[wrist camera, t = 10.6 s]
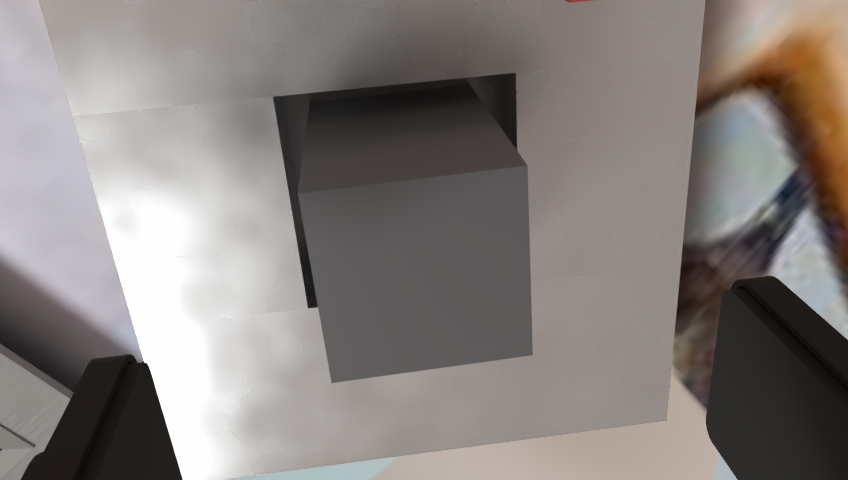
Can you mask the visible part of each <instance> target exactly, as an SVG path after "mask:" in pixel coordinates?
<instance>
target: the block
mask: <svg viewBox="0 0 848 480" xmlns="http://www.w3.org/2000/svg"><path fill="white" fill-rule="evenodd" d="M298 197H299V203H300V209H301V214H302V220H303V225H304V231H305V237H306V242H307V248H308V254H309V259H310V265H311V270H312V276H313V282H314V287H315V293H316V299H317V304H318V310H319V315H320V321H321V327H322V332H323V338H324V344H325V349H326V355H327V361H328V366H329V372H330V377H331V383H336V382H343V381H351V380H358V379H365V378H372V377H380V376H387V375H394V374H401V373H408V372H416V371H423V370H430V369H437V368H445V367H452V366H459V365H466V364H473V363H481V362H488V361H495V360H502V359H510V358H517V357H524V356H531V355H533V344H532V308H531V271H530V234H529V197H528V165H527V164H526V163H525V161H524V160H523V158H522V157H521V155H520V154H519V153H518V151H517V150H516V148H515V147H514V146H513V144H512V143H511V141H510V140H509V139H508V137H507V136H506V134H505V133H504V132H503V130H502V129H501V127H500V126H499V125H498V123H497V122H496V120H495V119H494V118H493V116H492V115H491V113H490V112H489V111H488V109H487V108H486V106H485V105H484V104H483V102H482V101H481V99H480V98H479V97H478V95H477V94H476V92H475V91H474V90H473V88H472V87H471V85H470V84H469V85H460V86H451V87H443V88H434V89H425V90H417V91H408V92H399V93H391V94H382V95H373V96H365V97H356V98H347V99H338V100H330V101H321V102H312V103H310V105H309V113H308V121H307V128H306V136H305V143H304V151H303V158H302V166H301V174H300V181H299V189H298Z"/></svg>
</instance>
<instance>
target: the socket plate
mask: <svg viewBox="0 0 848 480" xmlns="http://www.w3.org/2000/svg"><path fill="white" fill-rule="evenodd" d="M705 1H706V0H39V2H40V6H41V9H42V13H43V16H44V20H45V23H46V26H47V30H48V33H49V37H50V40H51V44H52V47H53V50H54V54H55V57H56V61H57V64H58V68H59V71H60V74H61V78H62V81H63V85H64V88H65V92H66V95H67V98H68V102H69V105H70V109H71V112H72V116H73V119H74V122H75V126H76V129H77V133H78V136H79V140H80V143H81V146H82V150H83V153H84V157H85V160H86V164H87V167H88V170H89V174H90V177H91V181H92V184H93V187H94V191H95V194H96V198H97V201H98V205H99V208H100V211H101V215H102V218H103V222H104V225H105V229H106V232H107V235H108V239H109V242H110V246H111V249H112V253H113V256H114V259H115V263H116V266H117V270H118V273H119V277H120V280H121V283H122V287H123V290H124V294H125V297H126V301H127V304H128V307H129V311H130V314H131V318H132V321H133V325H134V328H135V331H136V335H137V338H138V342H139V345H140V349H141V352H142V355H143V359H144V362H146V363H147V364H148V365H149V368H150V370H151V373H152V377H153V380H154V384H155V387H156V390H157V394H158V397H159V401H160V404H161V407H162V411H163V414H164V418H165V421H166V424H167V428H168V431H169V435H170V438H171V441H172V445H173V448H174V452H175V455H176V458H177V462H178V465H179V468H180V472H181V475H182V479H183V480H223V479H230V478H238V477H245V476H253V475H261V474H268V473H276V472H283V471H291V470H298V469H306V468H313V467H321V466H328V465H336V464H343V463H351V462H358V461H366V460H373V459H381V458H388V457H396V456H404V455H411V454H419V453H425V452H434V451H441V450H448V449H455V448H464V447H471V446H478V445H486V444H494V443H501V442H509V441H516V440H524V439H531V438H538V437H546V436H554V435H562V434H569V433H577V432H584V431H592V430H599V429H606V428H614V427H622V426H628V425H636V424H644V423H652V422H659V421H666V420H667V409H668V398H669V388H670V377H671V366H672V356H673V345H674V334H675V323H676V313H677V302H678V291H679V280H680V270H681V259H682V248H683V237H684V227H685V216H686V205H687V194H688V184H689V173H690V162H691V151H692V141H693V130H694V119H695V108H696V98H697V87H698V76H699V65H700V55H701V44H702V33H703V22H704V12H705ZM469 84H470V85H471V87H472V88H473V90H474V91H475V92H476V94H477V95H478V97H479V98H480V99H481V101H482V102H483V104H484V105H485V106H486V108H487V109H488V111H489V112H490V113H491V115H492V116H493V118H494V119H495V120H496V122H497V123H498V125H499V126H500V127H501V129H502V130H503V132H504V133H505V134H506V136H507V137H508V139H509V140H510V141H511V143H512V144H513V146H514V147H515V148H516V150H517V151H518V153H519V154H520V155H521V157H522V158H523V160H524V161H525V163H526V164H527V165H528V197H529V234H530V271H531V308H532V344H533V355H531V356H524V357H517V358H510V359H502V360H495V361H488V362H481V363H473V364H466V365H459V366H452V367H445V368H437V369H430V370H423V371H416V372H408V373H401V374H394V375H387V376H380V377H372V378H365V379H358V380H351V381H343V382H336V383H331V377H330V372H329V366H328V361H327V355H326V349H325V344H324V338H323V332H322V327H321V321H320V315H319V310H318V304H317V299H316V293H315V287H314V282H313V276H312V270H311V265H310V259H309V254H308V248H307V242H306V237H305V231H304V225H303V220H302V214H301V209H300V203H299V197H298V189H299V181H300V174H301V166H302V158H303V151H304V143H305V136H306V128H307V121H308V113H309V105H310V103H312V102H321V101H330V100H338V99H347V98H356V97H365V96H373V95H382V94H391V93H399V92H408V91H417V90H425V89H434V88H443V87H451V86H460V85H469Z"/></svg>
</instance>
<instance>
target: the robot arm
mask: <svg viewBox="0 0 848 480" xmlns="http://www.w3.org/2000/svg"><path fill="white" fill-rule="evenodd" d="M706 426H707V431H708V434H709V437H710V439H711V441H712V443H713V444H714V446H715V447H716V449H717V450H718V452H719V453H720V455H721V456H722V457H723V459H724V460H725V462H726V463H727V465H728V466H729V468H730V469H731V471H732V472H733V473H734V475H735V476H736V478H737V479H738V480H848V340H847V339H846V338H845V337H844V336H842V335H841V334H840V333H839V332H838V331H837V330H836V329H834V328H833V327H832V326H831V325H830V324H829V323H828V322H826V321H825V320H824V319H823V318H822V317H821V316H820V315H818V314H817V313H816V312H815V311H814V310H813V309H812V308H810V307H809V306H808V305H807V304H806V303H805V302H804V301H803V300H801V299H800V298H799V297H798V296H797V295H796V294H795V293H793V292H792V291H791V290H790V289H789V288H788V287H787V286H785V285H784V284H783V283H782V282H781V281H780V280H779V279H777V278H775V277H774V276H766V277H758V278H750V279H741V280H737V281H735V282H734V284H733V285H732V288H731V290H727V291H725V292H724V294H723V296H722V301H721V308H720V316H719V324H718V331H717V339H716V347H715V354H714V362H713V370H712V377H711V385H710V393H709V400H708V408H707V415H706ZM21 480H183V479H182V475H181V472H180V468H179V465H178V462H177V458H176V455H175V452H174V448H173V445H172V441H171V438H170V435H169V431H168V428H167V424H166V421H165V418H164V414H163V411H162V407H161V404H160V401H159V397H158V394H157V390H156V387H155V384H154V380H153V377H152V373H151V370H150V368H149V365H148V364H147V363H146V362H142V363H137V361H136V359H135V358H134V356H132V355H122V356H114V357H106V358H97V359H93V360H91V361H90V363H89V364H88V366H87V368H86V370H85V372H84V374H83V376H82V378H81V380H80V382H79V384H78V386H77V388H76V390H75V391H74V393H73V395H72V397H71V399H70V401H69V403H68V405H67V407H66V409H65V411H64V413H63V415H62V417H61V419H60V421H59V423H58V425H57V427H56V429H55V431H54V432H53V434H52V436H51V438H50V440H49V442H48V444H47V446H46V448H45V450H44V452H40V453H39V454H37V455H35V456H34V457H33V459H32V460H31V462H30V463H29V464H28V466H27V468H26V470H25V472H24V474H23V476H22V478H21Z"/></svg>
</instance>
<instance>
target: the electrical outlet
mask: <svg viewBox="0 0 848 480" xmlns="http://www.w3.org/2000/svg"><path fill="white" fill-rule="evenodd" d="M73 393H74V392H73V391H72V390H70V389H69V388H67V387H65V386H64V385H62V384H61V383H59V382H58V381H56V380H55V379H53V378H52V377H50V376H49V375H47V374H46V373H44V372H43V371H41V370H40V369H38V368H37V367H35V366H33V365H32V364H30V363H29V362H27V361H26V360H24V359H23V358H21V357H20V356H18V355H17V354H15V353H14V352H12V351H11V350H9V349H8V348H6V347H4V346H3V345H1V344H0V480H21V478H22V476H23V474H24V472H25V470H26V468H27V466H28V464H29V463H30V462H31V460H32V459H33V457H34V456H35V455H37V454H39V453H40V452H44V450H45V448H46V446H47V444H48V442H49V440H50V438H51V436H52V434H53V432H54V431H55V429H56V427H57V425H58V423H59V421H60V419H61V417H62V415H63V413H64V411H65V409H66V407H67V405H68V403H69V401H70V399H71V397H72V395H73Z"/></svg>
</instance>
